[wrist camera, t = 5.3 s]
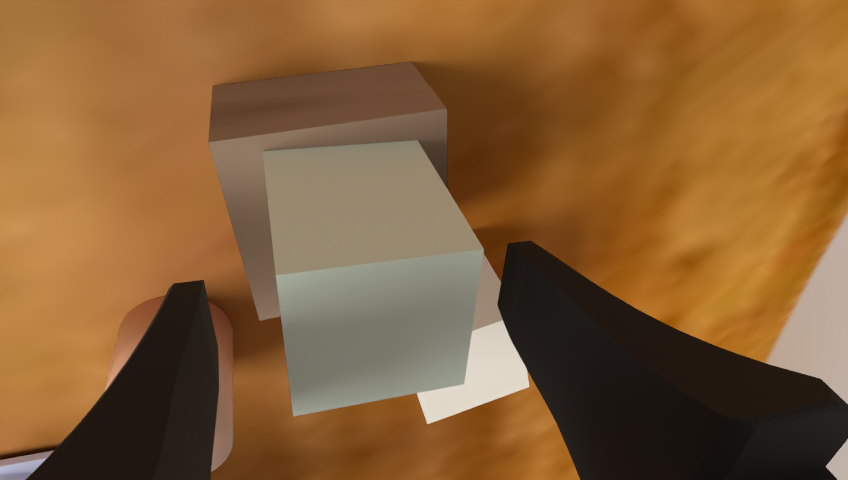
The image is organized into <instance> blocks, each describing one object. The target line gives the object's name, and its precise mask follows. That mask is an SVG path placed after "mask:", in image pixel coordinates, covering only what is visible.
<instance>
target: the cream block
mask: <svg viewBox="0 0 848 480" xmlns="http://www.w3.org/2000/svg"><path fill="white" fill-rule="evenodd" d="M500 286H501V282H500V280H499V278H498V277H497V275H496V273H495V272H494V270H493V268H492V267H491V265H490V263H489V262H488V260H487V258H486V256H485V255H484V253H483V260H482V266H481V273H480V280H479V287H478V293H477V300H476V307H475V314H474V321H473V327H472V334H471V341H470V348H469V354H468V361H467V368H466V375H465V382H464V384H463V385H458V386H452V387H447V388H442V389H436V390H431V391H426V392H420V393H417V395H418V398H419V401H420V404H421V407H422V410H423V413H424V416H425V418H426V421H427V424H430V423H432V422H435V421H438V420H441V419H443V418H446V417H449V416H452V415H454V414H457V413H460V412H462V411H465V410H468V409H471V408H473V407H476V406H479V405H481V404H484V403H487V402H490V401H492V400H495V399H498V398H500V397H503V396H506V395H509V394H511V393H514V392H517V391H520V390H522V389H525V388H528V387H529V382H528V374H527V368H526V367H525V365H524V363H523V361H522V359H521V358H520V356H519V354H518V352H517V350H516V349H515V347H514V345H513V343H512V341H511V339H510V337H509V334H508V332H507V329H506V327H505V325H504V322H503V319H502V316H501V314H500V311H499V308H498V306H497V303H498V298H499V292H500Z"/></svg>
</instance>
